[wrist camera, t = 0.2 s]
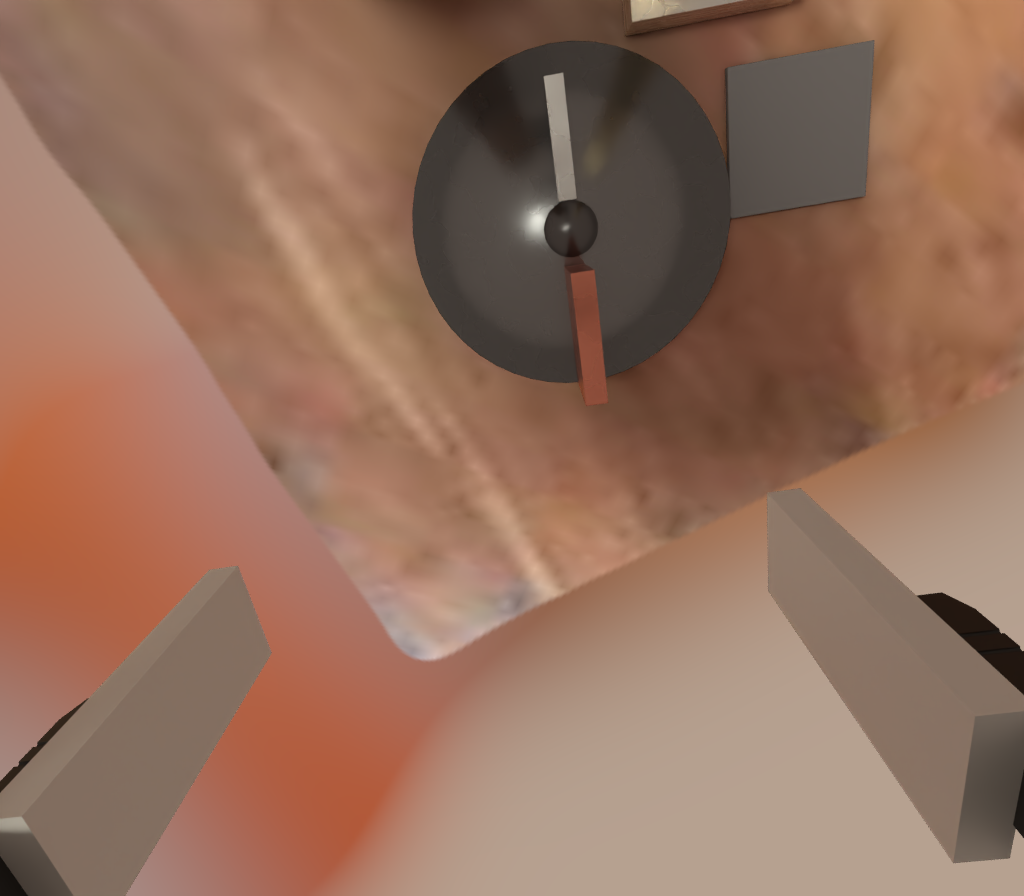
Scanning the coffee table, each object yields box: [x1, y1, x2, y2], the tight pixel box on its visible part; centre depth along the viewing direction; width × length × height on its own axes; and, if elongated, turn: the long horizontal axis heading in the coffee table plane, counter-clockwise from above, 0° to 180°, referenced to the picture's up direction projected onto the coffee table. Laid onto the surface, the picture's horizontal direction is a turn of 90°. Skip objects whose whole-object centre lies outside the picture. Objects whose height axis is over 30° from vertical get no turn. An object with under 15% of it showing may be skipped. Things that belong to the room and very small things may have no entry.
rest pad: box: [725, 40, 874, 219], centre depth 33 cm, size 8×8×1 cm
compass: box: [413, 41, 731, 406], centre depth 31 cm, size 18×18×7 cm
